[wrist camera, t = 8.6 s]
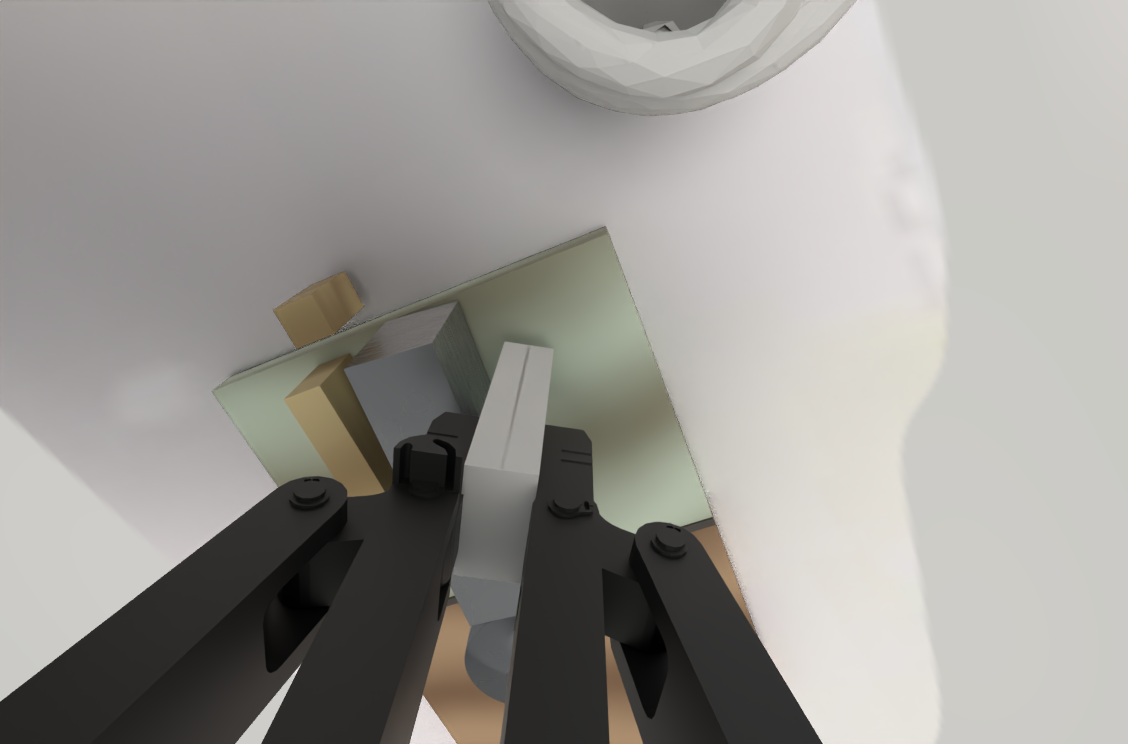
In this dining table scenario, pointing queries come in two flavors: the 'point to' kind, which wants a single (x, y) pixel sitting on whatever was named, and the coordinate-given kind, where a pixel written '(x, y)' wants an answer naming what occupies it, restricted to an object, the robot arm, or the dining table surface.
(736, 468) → the dining table surface
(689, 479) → the door board
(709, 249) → the dining table surface
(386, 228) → the dining table surface
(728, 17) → the light bulb
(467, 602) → the bar
